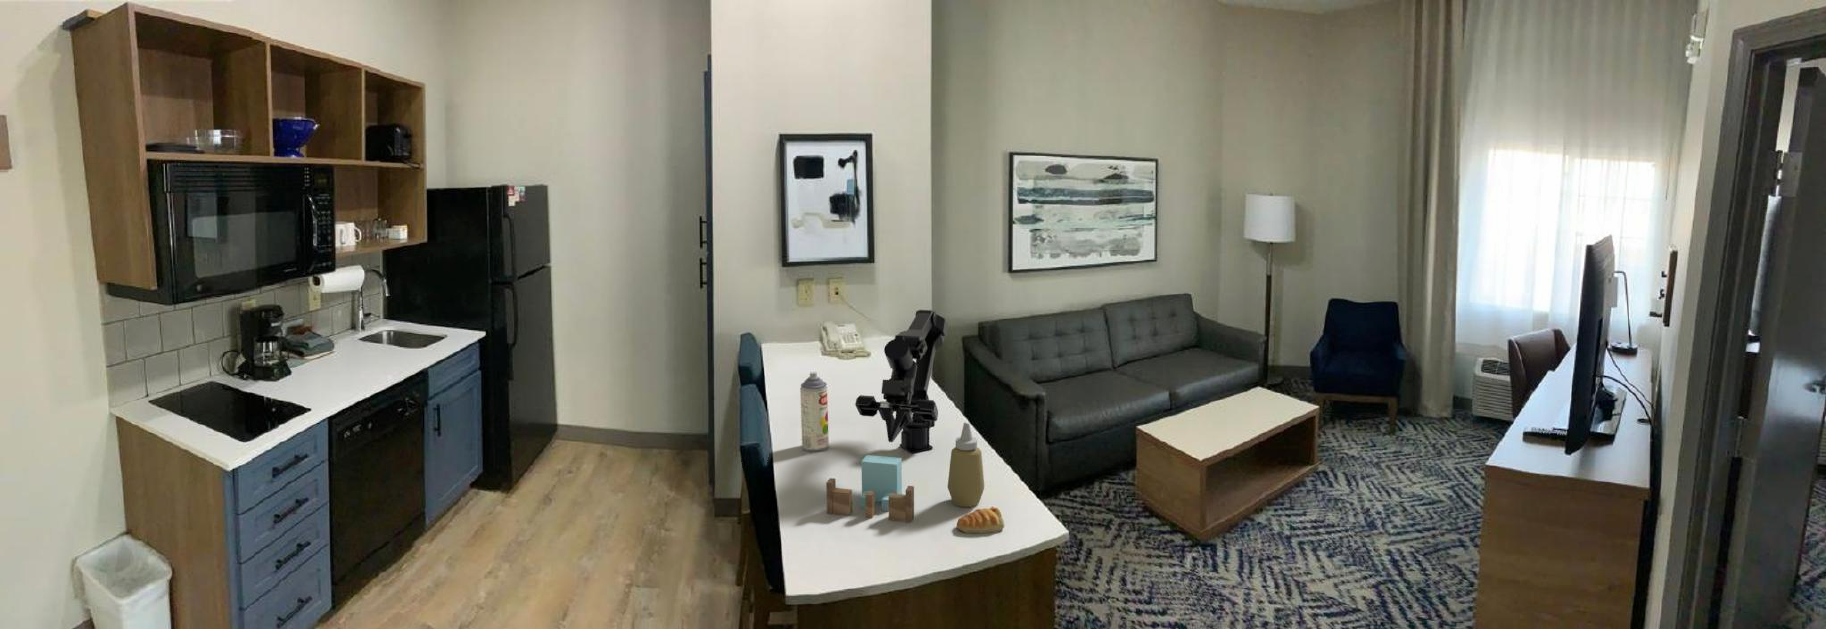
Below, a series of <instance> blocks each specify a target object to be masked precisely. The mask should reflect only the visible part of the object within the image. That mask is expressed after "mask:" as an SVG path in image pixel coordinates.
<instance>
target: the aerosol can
mask: <svg viewBox="0 0 1826 629" xmlns="http://www.w3.org/2000/svg"><path fill="white" fill-rule="evenodd" d="M799 390H800V391H799V392H800V393H799V394H800V419H801V420H800V421H801V449H802V450H803V451H805V452H807V453H820V452H824V451H826V450H828V449H829V448H830V444H829V410H828V408H829V407H828V406H829V404H828V403H829V402H828V400H829V398H828V386H827V383H826V381H824V380H823V379H821V378H820V376H818V373H817V372H816V371H811V372H810V373H809V376H808V377H807V378H806V379H805V380H804V381H803V382H801V384H800V389H799Z"/></svg>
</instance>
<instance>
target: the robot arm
mask: <svg viewBox="0 0 1826 629" xmlns="http://www.w3.org/2000/svg"><path fill="white" fill-rule="evenodd" d="M948 327H949V326H948V323H947V320H946V318H944V317H942V316H941V315H939V314H937V312H936V311H935V310H932V309H919V310H916V311H915V317H914V319H913V320H912V322H911V323H910V325H909V327H908V328H907V330H904V331H900V332H899V333H898V334H897V335H896V334H895V337H894V338H893V339H891V340H889V341H888V342H887V343H886V345H885V346H884V350H883V352H884V355H885V358H886V360H887V363H888V365H889V367H890V369H892V371H891V375H890V378H889V379H882V383H881V391H880V392H881V394H882V395H883V396H882V398H883V400H880V401H877V400H876V398H875V396H874V395H862V394H859V396H857V397H856V400H855V403H854V406H855V407H856V409H857V411H858V413H859V415H860V416H862V417H871V418H872V417H873V418H874V417H875V416H876V415H877V414H878V413H879V415H880V417H881V419H882V421H885V425H886V426H885V427H886V434H887V439H888V442H889V443H893V442H894V441H895V440H896V438H897V437H898V435H899V434H901V436H900V438H901V439H900V440H901V443H900V444H899V447H900V448H902V449H904V450H905V451H907V452H908V453H911V454H915V453H919V452H924V451H928V450H929V451H930V450H932V449H934V448H933V446H932V445H930V429H932V428H934V427H935V426H936V421H938V417H939V409H938V406H937V403H936V402H935V401H934V399H933V400H931V399H930V398H929V395H928V390H929V384H930V380H931V376H932V375H931V374H932V371H933V366H934V361H935V356H936V352H937V350H938V349H940V348H941V346H943V345H944V342H945V339H946V337H947V336H948V333H949V332H948V330H949V328H948ZM884 400H885V401H884ZM894 413H895V416H894Z"/></svg>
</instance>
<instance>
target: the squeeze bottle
mask: <svg viewBox="0 0 1826 629" xmlns="http://www.w3.org/2000/svg"><path fill="white" fill-rule="evenodd" d="M949 461H950V462H949V470H948V478H947V480H948V481H947V490H948V492H949V495H950V498H951V500H952V501H951V502H952V503H953V504H954V505H956V506H957V507H965V508H966V507H967V508H969V507H975V506H977V505H978V504H979V503H980V500H981V498H982V496H983V493H984V490H985V477H984V466H983V456H982V450H981V449H980V448H979V447H978V439H977V438H976V437H974V436H973V435H972V431H971V426H970V422H964V423H963V426H962V430H961V434H960V436H958V437H957V438H955V447H953V448H952V449H951V452H950V460H949Z"/></svg>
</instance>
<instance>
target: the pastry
mask: <svg viewBox="0 0 1826 629" xmlns="http://www.w3.org/2000/svg"><path fill="white" fill-rule="evenodd" d="M1002 515H1003V514H1002V512H1001V511H1000V509H999V508H998V507H995V506H991V507H989V508H988V507H987V508H976V509H975V510H973V511H971V512H970V513H966V514H964V515H963V516H961V517H959V518H958V520H957V522H956V528H957V529H958V530H960V531H961V532H963V533H967V534H987V533H996V532H1001V531H1003V529H1004V528H1005V521H1004V518H1003V516H1002Z"/></svg>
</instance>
